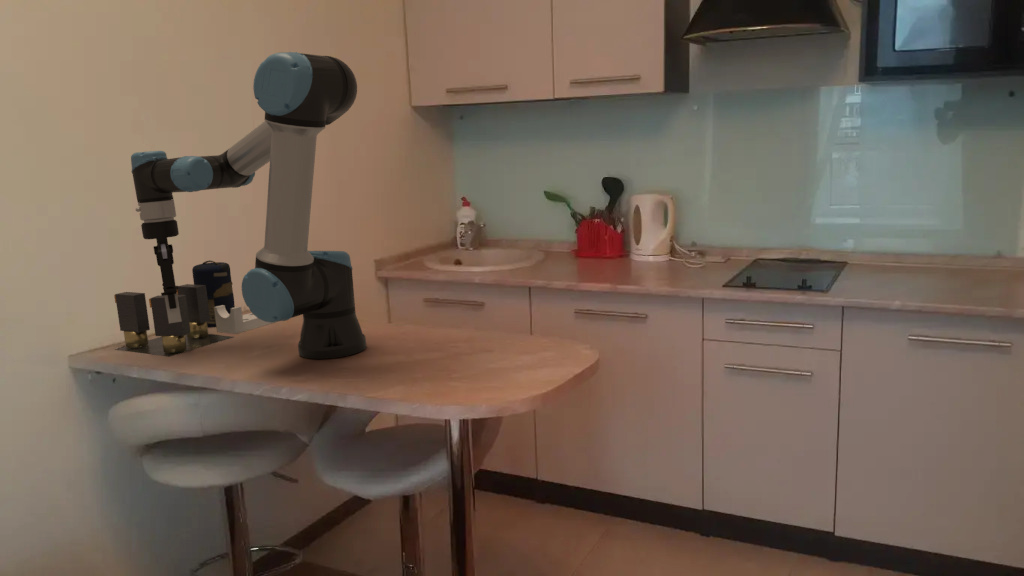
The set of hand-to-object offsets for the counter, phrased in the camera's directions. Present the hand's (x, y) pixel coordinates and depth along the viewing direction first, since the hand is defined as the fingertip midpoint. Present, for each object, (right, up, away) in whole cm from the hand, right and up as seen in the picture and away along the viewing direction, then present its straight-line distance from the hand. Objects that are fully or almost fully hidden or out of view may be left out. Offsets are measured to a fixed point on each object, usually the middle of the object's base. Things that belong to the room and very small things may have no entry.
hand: (174, 319), depth 184 cm
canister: (-1, -3, +30) cm, 31 cm away
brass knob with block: (-13, -7, +8) cm, 17 cm away
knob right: (-1, -5, +15) cm, 16 cm away
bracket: (+9, -4, +24) cm, 26 cm away
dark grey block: (0, -7, +2) cm, 7 cm away
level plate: (-4, -7, +10) cm, 12 cm away
